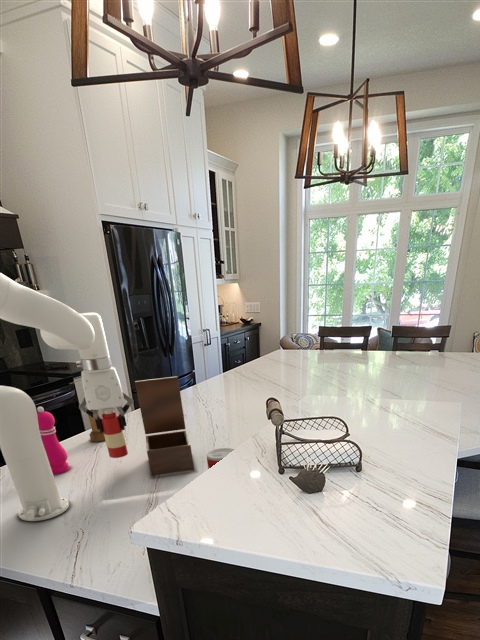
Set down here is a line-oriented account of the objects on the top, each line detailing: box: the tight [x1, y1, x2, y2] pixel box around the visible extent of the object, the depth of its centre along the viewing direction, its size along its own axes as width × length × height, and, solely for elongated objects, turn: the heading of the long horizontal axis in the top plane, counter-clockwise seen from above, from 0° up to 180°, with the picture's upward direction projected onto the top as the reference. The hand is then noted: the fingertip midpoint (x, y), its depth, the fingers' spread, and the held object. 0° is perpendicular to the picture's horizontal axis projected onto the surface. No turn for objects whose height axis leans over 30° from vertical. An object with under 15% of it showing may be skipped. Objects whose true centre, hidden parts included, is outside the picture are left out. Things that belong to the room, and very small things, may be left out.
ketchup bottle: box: [100, 408, 129, 459], centre depth 138 cm, size 6×6×14 cm
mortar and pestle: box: [87, 410, 105, 443], centre depth 170 cm, size 7×6×18 cm
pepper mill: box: [36, 406, 70, 475], centre depth 145 cm, size 7×7×20 cm
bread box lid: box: [134, 376, 186, 435], centre depth 146 cm, size 16×13×5 cm
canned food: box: [206, 447, 235, 470], centre depth 125 cm, size 8×8×11 cm
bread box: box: [145, 429, 195, 477], centre depth 145 cm, size 15×13×8 cm
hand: (112, 429), depth 137 cm, fingers closed on ketchup bottle, 5 cm apart
